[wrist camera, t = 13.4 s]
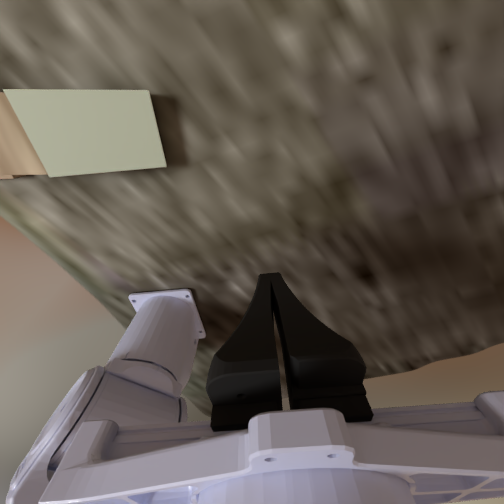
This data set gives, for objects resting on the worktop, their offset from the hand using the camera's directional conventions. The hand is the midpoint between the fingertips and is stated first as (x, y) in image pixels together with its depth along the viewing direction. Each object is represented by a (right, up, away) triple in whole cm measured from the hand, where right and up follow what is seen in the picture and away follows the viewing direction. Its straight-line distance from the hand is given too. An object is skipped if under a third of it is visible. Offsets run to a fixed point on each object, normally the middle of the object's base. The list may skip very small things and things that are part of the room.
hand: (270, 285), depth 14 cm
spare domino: (-9, +12, +3) cm, 15 cm away
